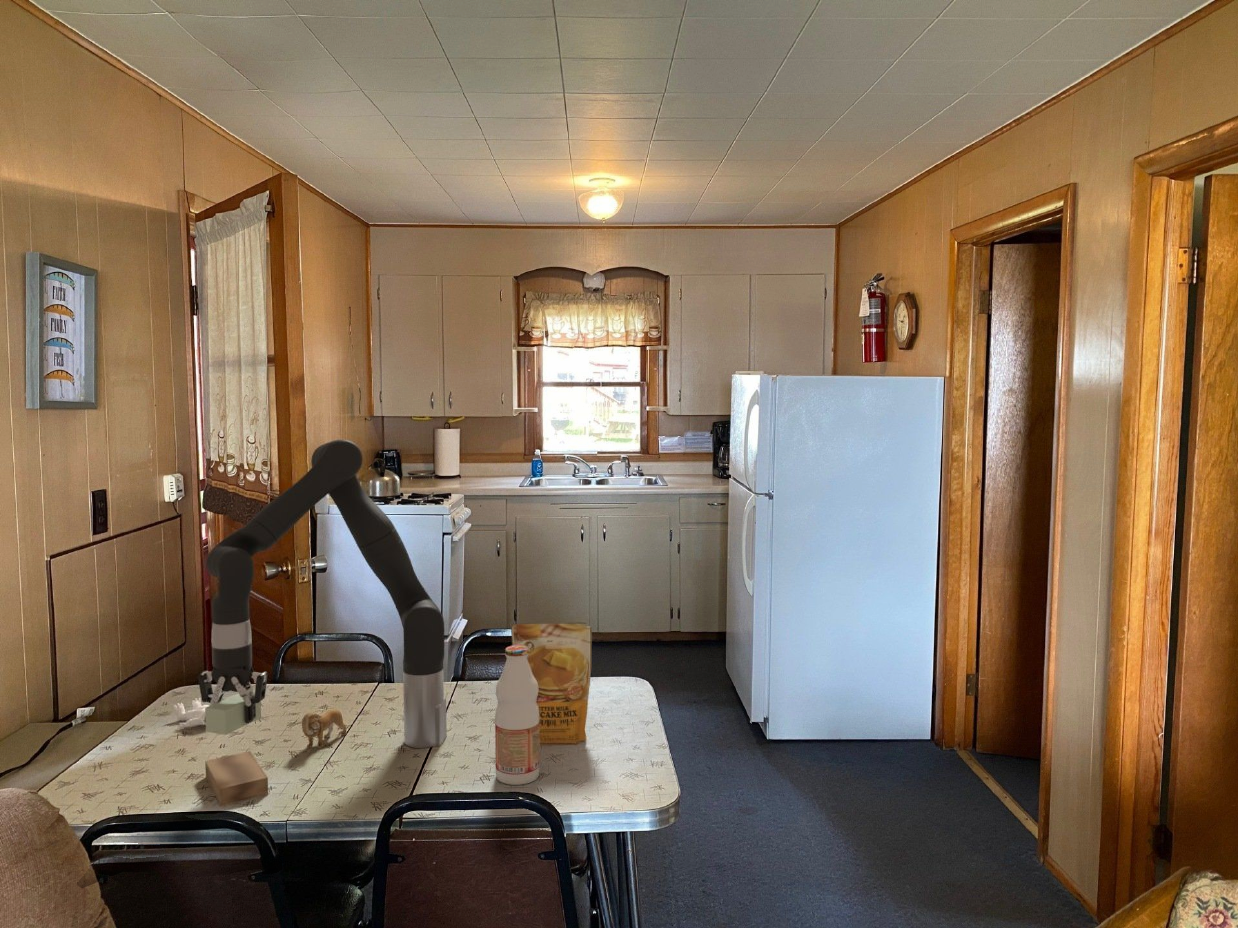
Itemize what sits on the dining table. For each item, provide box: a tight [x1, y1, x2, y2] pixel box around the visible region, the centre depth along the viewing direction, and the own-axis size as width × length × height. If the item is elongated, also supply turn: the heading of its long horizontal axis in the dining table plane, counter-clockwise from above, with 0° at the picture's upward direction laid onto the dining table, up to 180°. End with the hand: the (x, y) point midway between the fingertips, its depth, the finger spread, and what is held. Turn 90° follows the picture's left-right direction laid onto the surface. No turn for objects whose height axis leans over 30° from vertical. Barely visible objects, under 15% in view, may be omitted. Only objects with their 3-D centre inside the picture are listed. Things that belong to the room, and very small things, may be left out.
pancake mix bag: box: [510, 621, 593, 746], centre depth 203 cm, size 7×19×28 cm, turn 91°
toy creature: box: [172, 697, 210, 730], centre depth 215 cm, size 12×6×12 cm
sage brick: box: [205, 692, 262, 736], centre depth 179 cm, size 5×10×5 cm, turn 161°
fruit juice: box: [494, 645, 541, 786], centre depth 184 cm, size 9×9×28 cm
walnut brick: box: [204, 751, 269, 807], centre depth 180 cm, size 9×16×4 cm, turn 35°
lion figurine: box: [301, 709, 348, 749], centre depth 203 cm, size 15×5×9 cm, turn 166°
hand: (234, 721), depth 179 cm, fingers closed on sage brick, 6 cm apart
